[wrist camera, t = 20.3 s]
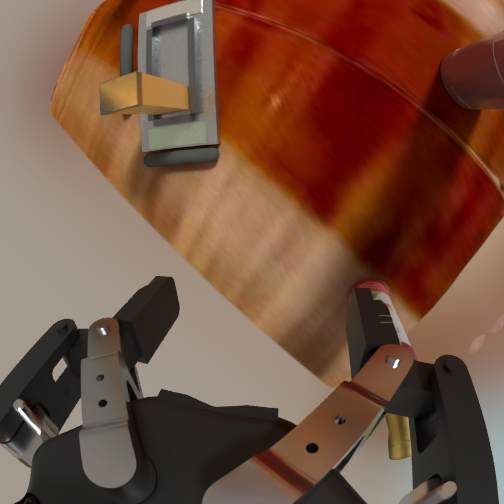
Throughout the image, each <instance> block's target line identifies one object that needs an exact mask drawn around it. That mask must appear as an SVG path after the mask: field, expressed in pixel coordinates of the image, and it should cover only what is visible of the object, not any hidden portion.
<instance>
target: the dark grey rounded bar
mask: <svg viewBox="0 0 504 504" xmlns="http://www.w3.org/2000/svg"><path fill="white" fill-rule="evenodd" d="M218 158H219V151H218V150H217V149H216V148H200V149H189V150H179V151H170V152H162V153H154V154H148V155H147V156H145V158H144V164H145V165H146V166H147V167H155V166H165V165H175V164H187V163H200V162H214V161H216V160H217V159H218Z"/></svg>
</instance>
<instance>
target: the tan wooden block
mask: <svg viewBox="0 0 504 504" xmlns="http://www.w3.org/2000/svg"><path fill="white" fill-rule="evenodd" d="M184 110H190V104H189V86H187V85H183V84H180V83H177V82H174V81H170V80H167V79H163V78H159V77H156V76H152V75H148V74H144V73H142V72H138V71H135V72H132V73H129V74H126V75H123V76H120V77H117V78H114V79H111V80H108V81H106V82H103V83H100V111H101V115H108V114H151V115H161V114H166V113H172V112H178V111H184Z"/></svg>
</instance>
